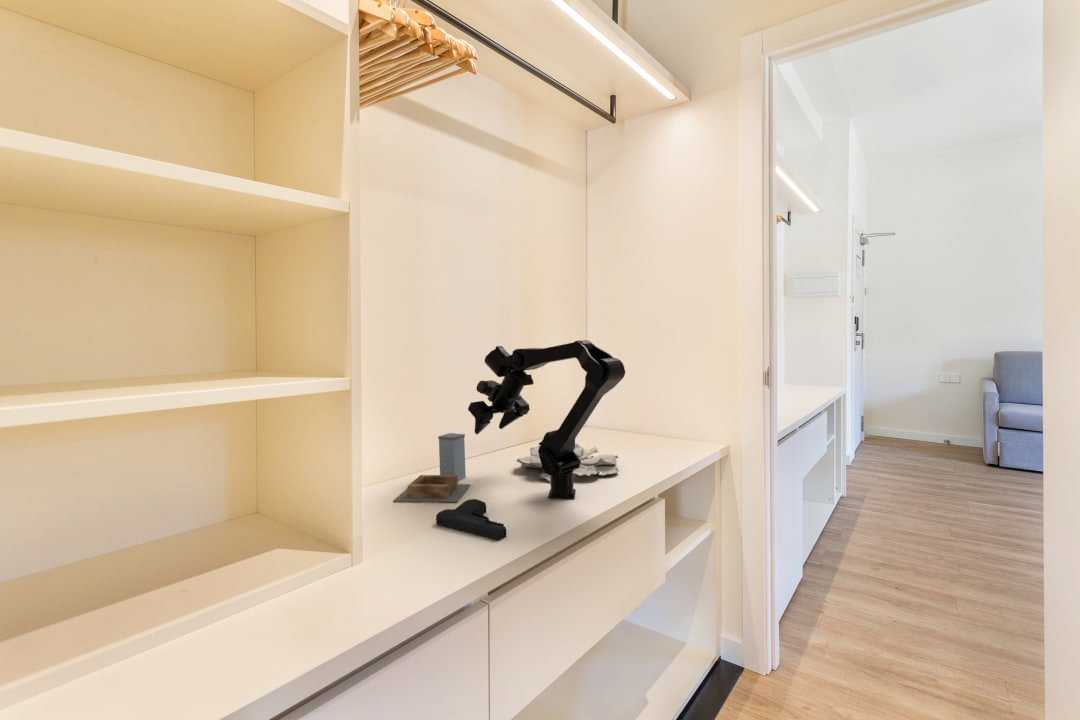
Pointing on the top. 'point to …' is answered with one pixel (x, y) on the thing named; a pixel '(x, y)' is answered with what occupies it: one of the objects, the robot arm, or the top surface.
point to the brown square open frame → (432, 486)
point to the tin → (452, 455)
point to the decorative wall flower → (584, 465)
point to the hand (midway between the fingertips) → (488, 430)
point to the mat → (451, 499)
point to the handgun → (471, 520)
